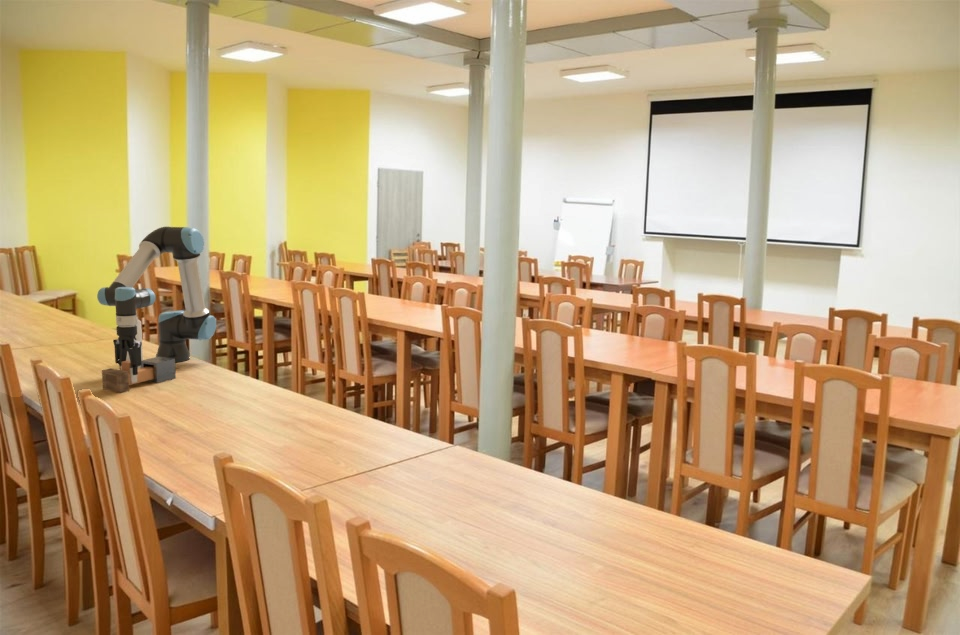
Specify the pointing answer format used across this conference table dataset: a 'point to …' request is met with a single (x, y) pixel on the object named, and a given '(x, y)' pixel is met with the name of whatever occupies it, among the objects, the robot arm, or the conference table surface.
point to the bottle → (137, 339)
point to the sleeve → (161, 368)
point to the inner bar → (139, 372)
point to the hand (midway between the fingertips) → (129, 381)
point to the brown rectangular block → (115, 380)
